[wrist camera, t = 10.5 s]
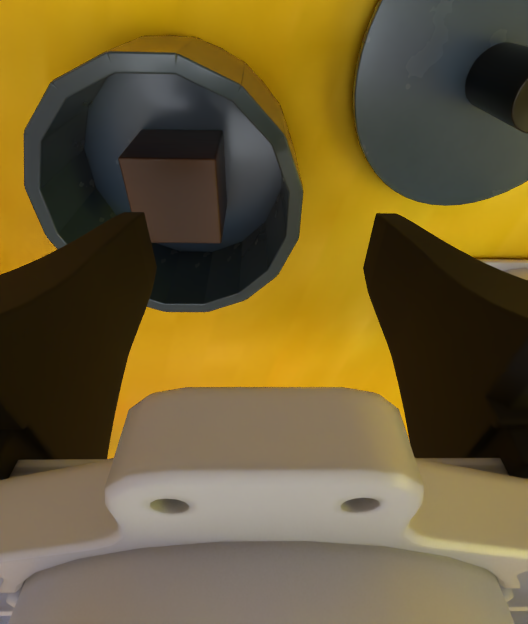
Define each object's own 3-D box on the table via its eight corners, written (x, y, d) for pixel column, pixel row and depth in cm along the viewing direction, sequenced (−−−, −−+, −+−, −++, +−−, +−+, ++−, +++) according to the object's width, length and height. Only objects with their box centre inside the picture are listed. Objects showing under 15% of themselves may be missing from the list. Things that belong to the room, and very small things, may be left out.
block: (223, 130, 18) (215, 159, 15) (227, 206, 20) (221, 244, 17) (140, 128, 18) (117, 157, 15) (155, 205, 20) (138, 243, 17)
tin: (301, 37, 16) (316, 55, 12) (286, 256, 23) (291, 313, 19) (39, 32, 15) (-39, 47, 11) (110, 255, 23) (78, 312, 19)
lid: (724, -129, 13) (925, -178, 9) (540, 198, 21) (604, 246, 17) (384, -140, 12) (440, -197, 9) (332, 195, 20) (349, 243, 17)
